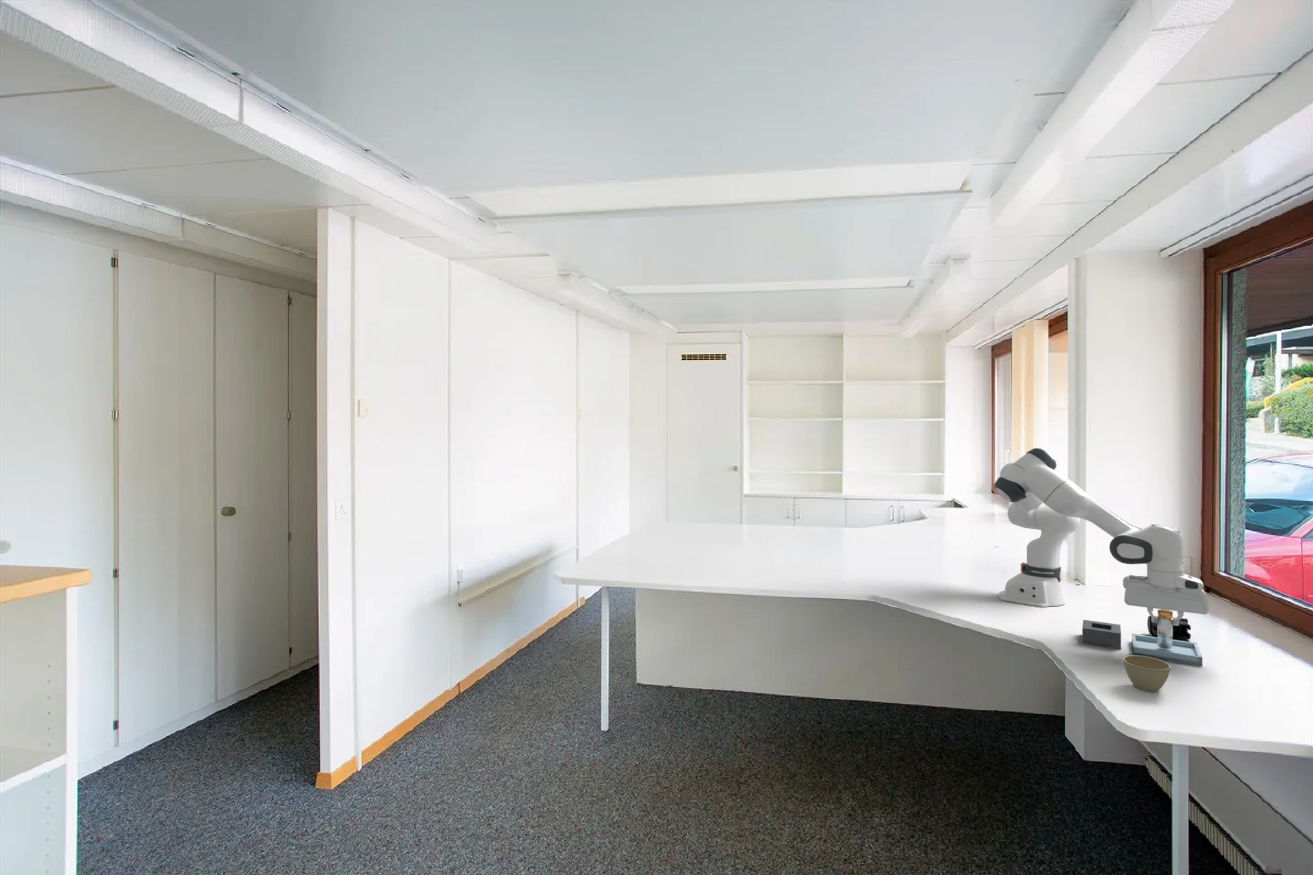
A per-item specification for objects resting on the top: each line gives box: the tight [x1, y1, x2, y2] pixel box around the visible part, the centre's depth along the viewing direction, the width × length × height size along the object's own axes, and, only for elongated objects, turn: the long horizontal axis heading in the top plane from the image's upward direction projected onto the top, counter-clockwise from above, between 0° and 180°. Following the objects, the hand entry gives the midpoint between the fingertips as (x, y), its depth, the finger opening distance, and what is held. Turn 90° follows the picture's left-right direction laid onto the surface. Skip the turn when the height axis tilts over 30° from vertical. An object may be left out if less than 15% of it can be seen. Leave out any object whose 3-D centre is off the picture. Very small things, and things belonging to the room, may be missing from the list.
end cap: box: [1146, 615, 1192, 642], centre depth 208 cm, size 10×7×7 cm
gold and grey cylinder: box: [1157, 609, 1174, 649], centre depth 195 cm, size 4×4×11 cm
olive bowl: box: [1123, 654, 1171, 693], centre depth 171 cm, size 10×10×7 cm
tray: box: [1131, 633, 1203, 667], centre depth 196 cm, size 16×14×2 cm
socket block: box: [1081, 619, 1122, 650], centre depth 206 cm, size 10×10×5 cm
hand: (1165, 623), depth 196 cm, fingers closed on gold and grey cylinder, 4 cm apart
